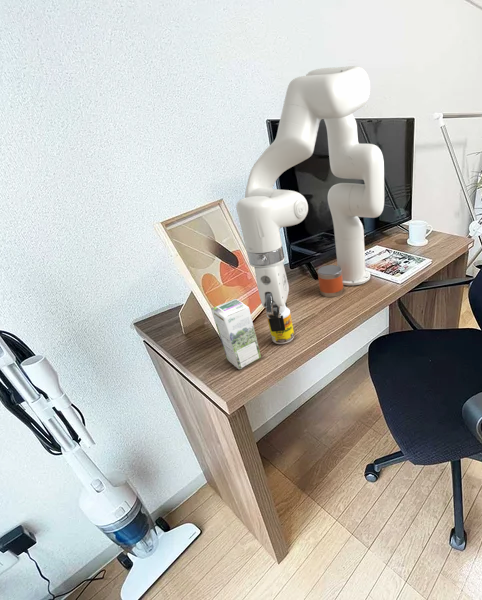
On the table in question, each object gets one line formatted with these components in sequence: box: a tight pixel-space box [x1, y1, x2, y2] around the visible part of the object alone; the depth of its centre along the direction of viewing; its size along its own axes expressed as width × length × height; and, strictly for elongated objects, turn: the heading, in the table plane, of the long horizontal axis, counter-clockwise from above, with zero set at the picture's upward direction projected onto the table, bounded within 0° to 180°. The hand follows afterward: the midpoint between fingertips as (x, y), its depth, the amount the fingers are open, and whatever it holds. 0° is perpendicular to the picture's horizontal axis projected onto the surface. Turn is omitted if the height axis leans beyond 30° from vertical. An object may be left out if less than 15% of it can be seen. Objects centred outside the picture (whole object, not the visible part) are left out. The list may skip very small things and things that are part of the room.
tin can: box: [317, 264, 344, 298], centre depth 103 cm, size 8×8×8 cm
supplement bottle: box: [266, 302, 295, 345], centre depth 81 cm, size 6×6×10 cm
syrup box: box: [210, 298, 262, 371], centre depth 73 cm, size 6×6×14 cm
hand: (280, 322), depth 81 cm, fingers closed on supplement bottle, 5 cm apart
